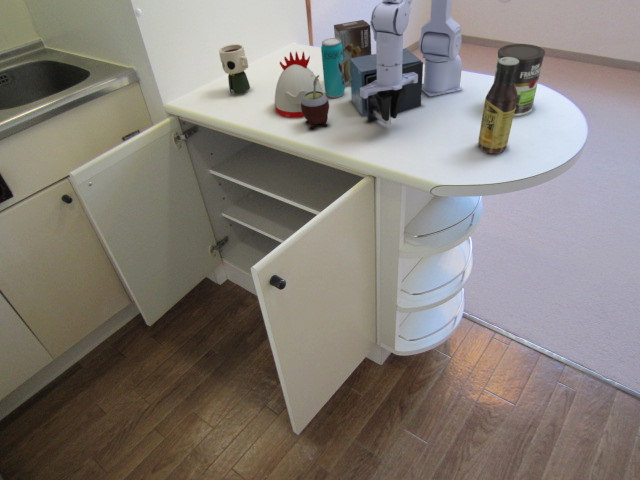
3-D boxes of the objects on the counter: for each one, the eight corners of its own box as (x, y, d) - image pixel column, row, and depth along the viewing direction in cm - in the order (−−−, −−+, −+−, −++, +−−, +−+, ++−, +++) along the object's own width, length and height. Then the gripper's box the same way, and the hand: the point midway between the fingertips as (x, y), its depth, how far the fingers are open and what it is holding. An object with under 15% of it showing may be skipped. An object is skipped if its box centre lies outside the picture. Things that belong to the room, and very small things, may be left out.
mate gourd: (312, 116, 125) (306, 60, 115) (338, 121, 121) (334, 63, 111) (297, 129, 120) (289, 71, 110) (324, 134, 117) (318, 75, 107)
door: (436, 115, 118) (439, 70, 111) (382, 132, 114) (381, 87, 107) (419, 104, 124) (421, 61, 116) (367, 120, 119) (365, 77, 112)
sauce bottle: (473, 142, 107) (485, 55, 94) (500, 139, 107) (516, 51, 94) (483, 157, 102) (497, 67, 89) (511, 153, 102) (530, 63, 89)
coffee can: (541, 108, 116) (555, 51, 107) (510, 120, 113) (521, 62, 104) (510, 95, 123) (521, 40, 114) (480, 106, 120) (488, 50, 111)
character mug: (219, 93, 142) (209, 49, 134) (235, 84, 146) (226, 41, 138) (245, 99, 137) (235, 55, 128) (261, 90, 141) (253, 46, 132)
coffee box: (366, 74, 143) (364, 18, 132) (372, 81, 138) (371, 25, 127) (337, 79, 142) (333, 24, 131) (343, 87, 137) (339, 30, 126)
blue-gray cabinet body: (419, 104, 124) (421, 60, 116) (362, 116, 122) (360, 71, 114) (405, 90, 131) (406, 48, 124) (351, 101, 129) (349, 58, 122)
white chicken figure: (323, 116, 124) (318, 59, 114) (273, 119, 125) (263, 64, 116) (325, 94, 135) (320, 40, 125) (278, 97, 136) (270, 44, 126)
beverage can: (343, 99, 131) (340, 44, 121) (323, 99, 132) (318, 45, 122) (346, 90, 135) (343, 37, 125) (327, 90, 136) (322, 37, 126)
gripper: (370, 75, 99) (371, 133, 108) (427, 59, 103) (423, 115, 112) (354, 65, 104) (356, 121, 113) (408, 50, 108) (407, 105, 117)
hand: (389, 118), depth 113 cm, fingers closed on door, 2 cm apart
